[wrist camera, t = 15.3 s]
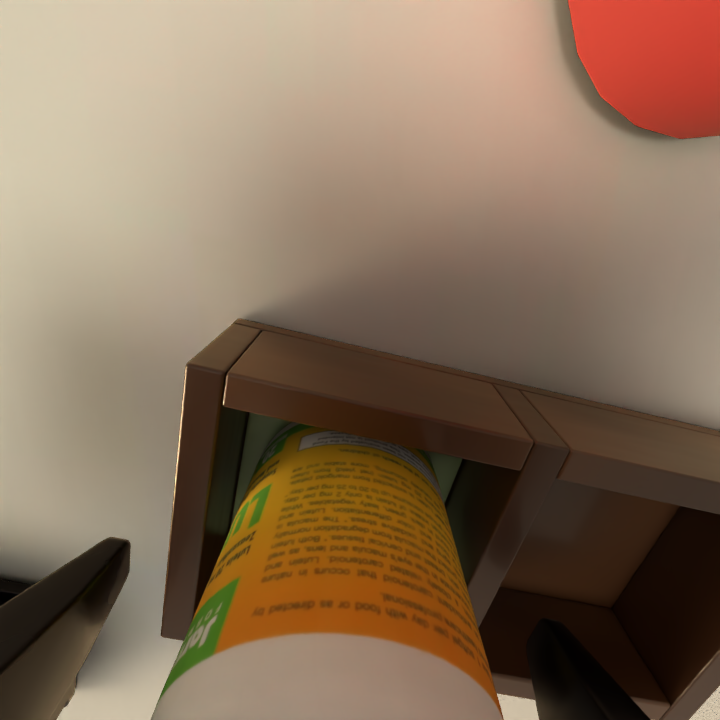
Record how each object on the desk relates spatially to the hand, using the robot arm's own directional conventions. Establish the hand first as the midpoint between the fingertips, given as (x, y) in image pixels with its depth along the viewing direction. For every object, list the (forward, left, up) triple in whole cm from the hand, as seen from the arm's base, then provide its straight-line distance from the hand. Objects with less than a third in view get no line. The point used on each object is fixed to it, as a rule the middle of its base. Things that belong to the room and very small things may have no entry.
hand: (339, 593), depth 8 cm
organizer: (+4, 0, -4) cm, 6 cm away
